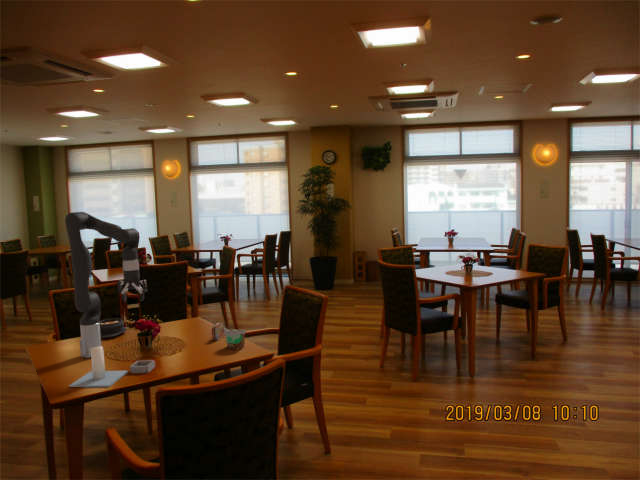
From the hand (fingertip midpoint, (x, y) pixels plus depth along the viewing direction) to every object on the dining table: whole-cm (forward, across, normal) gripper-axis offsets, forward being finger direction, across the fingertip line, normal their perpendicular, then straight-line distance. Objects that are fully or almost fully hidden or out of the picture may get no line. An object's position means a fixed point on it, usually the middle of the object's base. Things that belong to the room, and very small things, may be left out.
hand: (133, 300), depth 248 cm
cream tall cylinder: (+29, -6, -27) cm, 40 cm away
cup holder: (+30, +9, -15) cm, 35 cm away
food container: (+30, +45, +16) cm, 57 cm away
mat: (+30, -6, -27) cm, 41 cm away
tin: (+30, +32, +36) cm, 57 cm away
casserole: (+30, -38, +48) cm, 68 cm away
